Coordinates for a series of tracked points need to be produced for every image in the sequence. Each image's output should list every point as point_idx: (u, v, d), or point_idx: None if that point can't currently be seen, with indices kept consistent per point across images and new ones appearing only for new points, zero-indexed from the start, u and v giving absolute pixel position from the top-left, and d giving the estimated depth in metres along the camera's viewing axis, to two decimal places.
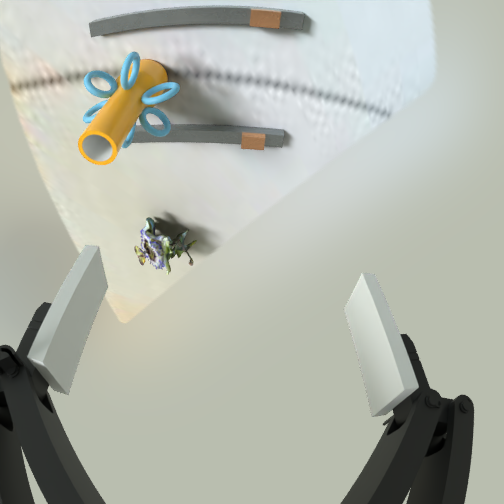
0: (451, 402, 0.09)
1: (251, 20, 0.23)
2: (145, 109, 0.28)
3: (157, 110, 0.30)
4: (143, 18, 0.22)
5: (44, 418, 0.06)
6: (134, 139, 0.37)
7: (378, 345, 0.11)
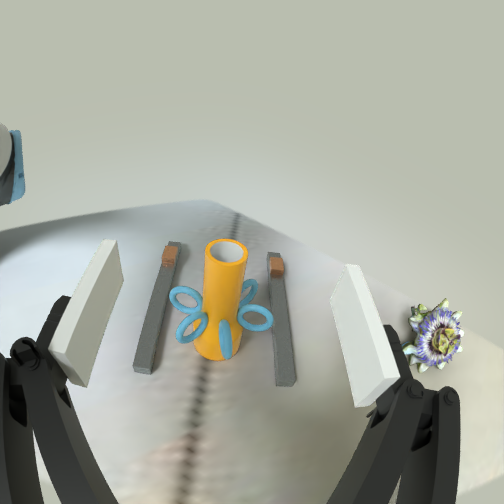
0: (436, 394, 0.09)
1: (170, 257, 0.44)
2: None
3: None
4: (149, 321, 0.36)
5: (62, 413, 0.07)
6: (288, 357, 0.35)
7: (360, 335, 0.12)
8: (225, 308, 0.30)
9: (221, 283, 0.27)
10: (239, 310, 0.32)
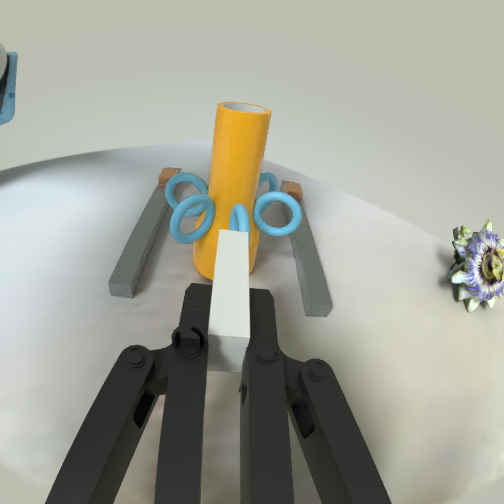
0: (298, 374, 0.10)
1: (168, 176, 0.36)
2: None
3: None
4: (137, 235, 0.28)
5: (203, 411, 0.08)
6: (319, 277, 0.27)
7: None
8: (240, 188, 0.22)
9: (237, 142, 0.20)
10: (257, 201, 0.24)
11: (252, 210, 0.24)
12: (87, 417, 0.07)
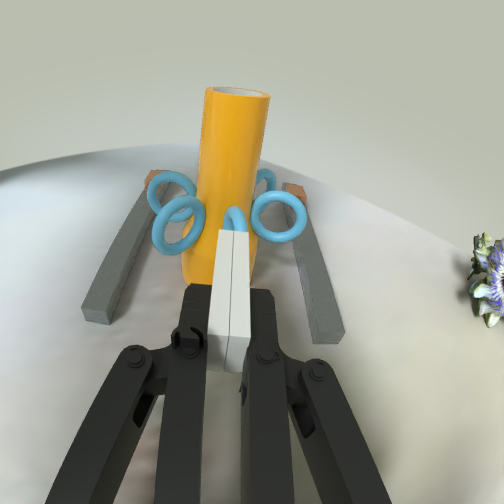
0: (299, 374, 0.10)
1: None
2: None
3: None
4: (117, 249, 0.24)
5: (202, 411, 0.08)
6: (329, 298, 0.23)
7: None
8: (234, 187, 0.18)
9: (230, 131, 0.16)
10: (254, 202, 0.21)
11: (249, 213, 0.21)
12: (86, 417, 0.07)
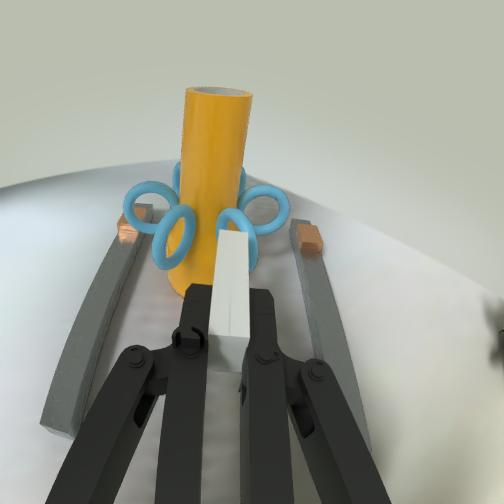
0: (298, 374, 0.10)
1: None
2: None
3: None
4: (79, 335, 0.16)
5: (203, 411, 0.08)
6: (354, 403, 0.16)
7: None
8: (225, 188, 0.18)
9: (221, 133, 0.16)
10: (239, 200, 0.21)
11: None
12: (87, 417, 0.07)
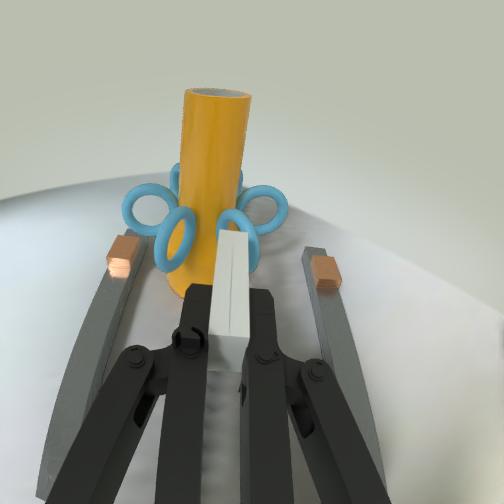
0: (298, 374, 0.10)
1: (121, 257, 0.21)
2: None
3: None
4: (67, 399, 0.13)
5: (203, 411, 0.08)
6: None
7: None
8: (225, 189, 0.18)
9: (221, 135, 0.16)
10: (238, 201, 0.21)
11: None
12: (87, 417, 0.07)
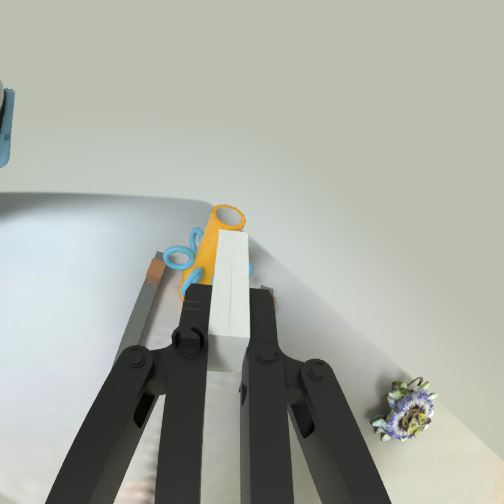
0: (298, 374, 0.10)
1: (155, 275, 0.39)
2: None
3: None
4: None
5: (203, 411, 0.08)
6: None
7: None
8: None
9: None
10: None
11: None
12: (87, 417, 0.07)
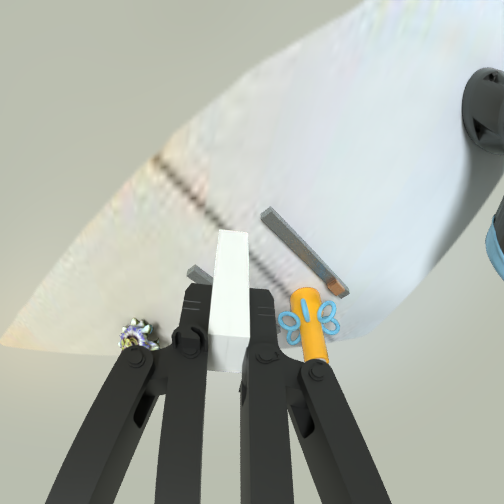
0: (298, 374, 0.10)
1: (331, 286, 0.52)
2: None
3: None
4: (295, 242, 0.47)
5: (203, 411, 0.08)
6: None
7: None
8: (301, 334, 0.49)
9: (306, 349, 0.46)
10: None
11: (300, 329, 0.52)
12: (87, 417, 0.07)
